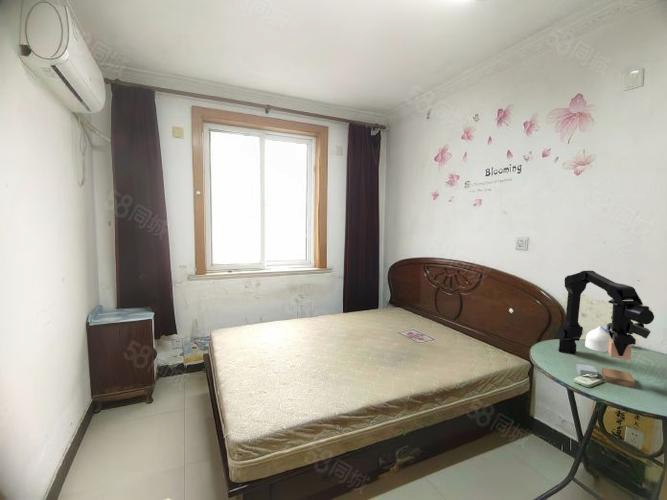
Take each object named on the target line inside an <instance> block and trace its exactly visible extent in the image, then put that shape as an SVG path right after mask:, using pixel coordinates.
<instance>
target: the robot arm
mask: <svg viewBox="0 0 667 500" xmlns="http://www.w3.org/2000/svg"><path fill="white" fill-rule="evenodd" d="M589 283H591V284H593V285H595V286H597V287H599V288H600V289H602V290H604V291H605V292H606V294H607V296H609V297H610V298H611V299H610V300H608V304H612V312H611V314H612V315H611V316H610V319H611V322H609V323H607V324H606V327H607V329H608V330H610V329H611V331H608V332H609V335H610V337H611V339H612V340H613V342H614V345H615V347H616V350H617V352H618V355H619V356H623V354H624V352H625V350H626V348H627V346H628V345H630V344H631V346H632V345H633V346H634V345H636V342H637V340H636V338H635V337H634V336H633V335H634V334H635V335H637V336H639V337H641V338H643V339H645V340H646V339H647V338H648V337H649V336H650V334H651V332H652V331H651V330H650V329H649V328H647V327H645V325H649V324H651V323H652V322H653V321H654V320H655V315H654V312H653V311H652V310H650V306H648V305H644V303H643V301H642V299H641V297H640V296H639V294H638V293H637V290H636V289H635V288H634V287H633V286H631V285H628V284H623V283H618V282H615V281H612V280H611V279H609V278H607V277H605V276H603V275H601V274H599V273H597V272H596V271H595V270H582V271H580V272H577V273H573V274H571V275H567V276H565V277H564V288H565V289H566V292H567V300H566V310H565V319H564V321H563V322H562V323H561V324H560V328H559V330H558V331H556V332H555V334H554V336H555V338H556V339H558V341H559V343H558V352H560V353H563V354H564V353H565V354H571V355H576V353H577V343H576V341H577V342H579V341H580V339H581V338H582V335H583V330H584V328H583V326H581V325H580V323H579V316H580V307H581V295H582V294H583V292H584V291H585V290H586V289H587V284H589ZM634 322H635V323H634Z"/></svg>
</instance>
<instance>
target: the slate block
mask: <svg viewBox="0 0 667 500" xmlns="http://www.w3.org/2000/svg"><path fill="white" fill-rule="evenodd" d="M575 366H576V368H575V371H576V372H577V374H578V375H579V376H580V377H582V376H581V375H586V374H592V375H597V376H598V377H599V371H598V370H597V369H596V368H595V366H594V365H590V364H589V365H587V364H580V363H576V365H575Z"/></svg>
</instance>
